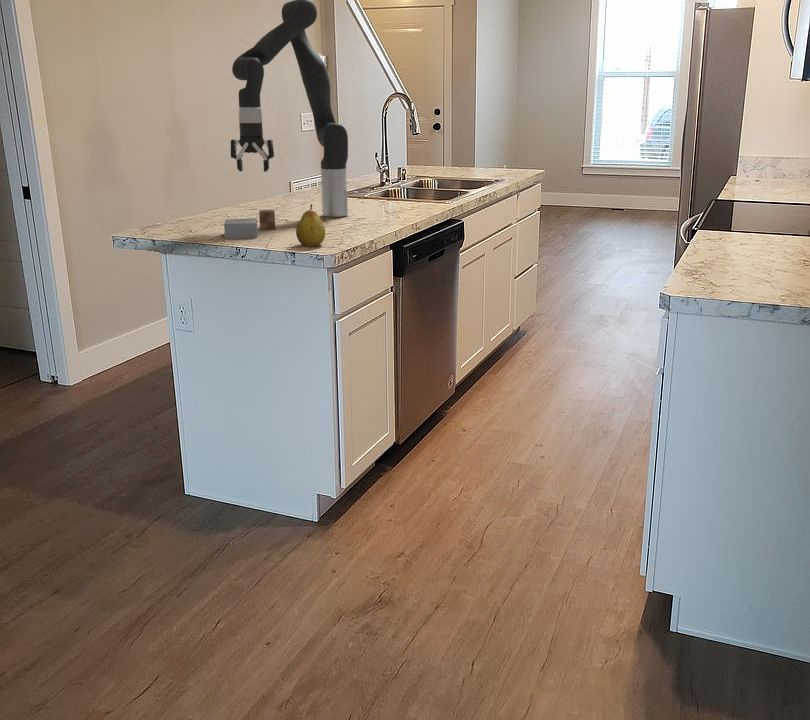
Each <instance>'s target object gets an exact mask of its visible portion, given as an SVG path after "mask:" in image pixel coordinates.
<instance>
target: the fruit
mask: <svg viewBox="0 0 810 720" xmlns="http://www.w3.org/2000/svg"><path fill="white" fill-rule="evenodd" d="M309 207H310V208H309V210H306V211H305V212H304V213H302V216H301V218H300V220H299V222H298V224H297V226H296V230H295V234H296V239H297V240H298V242H299V243H300V245H302V246H305V247H318V246H320V245H321V244H322V243H323V242H324V240H325V238H326V234H327V233H326V227H325V225H324V223H323V221H322V219H321V218H320V217H319V215H318V213H316V211H314V210H312V208H313V204H312V203H311V204H310V206H309Z"/></svg>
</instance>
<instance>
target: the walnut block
mask: <svg viewBox="0 0 810 720" xmlns="http://www.w3.org/2000/svg"><path fill="white" fill-rule="evenodd" d="M258 214H259V215H258V216H259V229H260V231H266V230H268V231H272V230H276V212H275V209H259V211H258Z"/></svg>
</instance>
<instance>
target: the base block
mask: <svg viewBox="0 0 810 720" xmlns="http://www.w3.org/2000/svg"><path fill="white" fill-rule="evenodd" d="M223 226H224V227H223V228H224V239H255V238H256V239H257V238H258V235H259V234H258V219H257V217H256V218H255V217H254V218H253V217H251V218H226V219H225V220H224V222H223Z"/></svg>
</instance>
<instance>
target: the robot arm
mask: <svg viewBox="0 0 810 720" xmlns="http://www.w3.org/2000/svg"><path fill="white" fill-rule="evenodd" d="M317 17H318V11H317V7H316V4H315V3H314V2H313V1H312V0H291V1H288V2H285V3H284V4H283V6H282V8H281V18H282V23H280V24H279V25H277V26H275V27H274V28H273V29H271V30H270V31H268V32H267V33H265V35H263V36H262V37H261V38H260V39H259V40H258V41H257V43H255V44H254V45H253V47H251V48H249V49H248V50H246V51H245V52H243V53H241V54H240V55H239V56H237V58H236V59H235V60H234V61H233V64H232V66H231V68H232V69H231V72H232V75H233V76H234V78H236V79H237V80H239V81H246V82H245V83H246V84H245V86H244V87H243V88H240V89H239V91H238V123H239V124H238V126H239V139H231V140H230V159H231V158H232V159H235V160H236V169H237V170H238V171H239V172H243V170H244V169H243V156H244V155H245V154H250V153H251V154H252V153H253V154H259V155H260V156H261V157H262V159H263V161H262V163H263V172H264V173H265V172H266V173H267V172H268V170H269V169H270V159H273V158H275V152H274V144H273V143H274V141H273V139H268V140H267V139H266V140H265V139H264V134H263V133H264V132H263V114H262V108H261V91H262V87H263V82H264V75H265V68H264V66H266V65H268V64H269V63H271V62H272V61H273V59H274V58H276V56H277V55H278V54H279V53H280V52H281V51H282V50H283V49H284V48H285V47H286V46H287V45H288V44H289V43H290V44H291V46H292V49H293V52H294V55H295V59H296V62H297V65H298V69H299V72H300V76H301V80H302V84H303V86H304V90H305V93H306V96H307V99H308V103H309V106H310V109H311V111H312V116H313V121H314V127H315V134H316V138H317V141H318V143H319V144H320V146H322V147H323V157H322V159H321V161H320V176H321V177H320V178H321V207H322V208H321V211H322V216H323V217H328V218H329V217H330V218H331V217H332V218H336V217H337V218H339V217H348V216H349V215H348V214H349V213H348V212H349V211H348V207H349V206H348V189H347V188H348V187H347V186H348V185H347V162H348V158H349V139H348V138H349V135H348V131H347V129H346V127H345V126H343V125H342V124H340V123H337V122H336V119H335V116H334V114H333V109H332V106H331V105H332V104H331V82H330V78H329V73H328V71H327V67H326V65H325V62H324V60H323V59H322V58H321V56H320V55H319V53H318V52H317V51H316V50H315V49H314V48H313V46H312V45H311V43H310V41H309V39H308V36H307V33H306V29H308V28H310V27H311V26H312V25H313V24H314V23H315V22H316V21H317ZM239 145H240V147H241V149H240V150H239V152H238V154H237V147H238V146H239ZM264 145H265V147H267V151H268V154H267V153H266V151H265V149H264V147H263V146H264Z"/></svg>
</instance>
